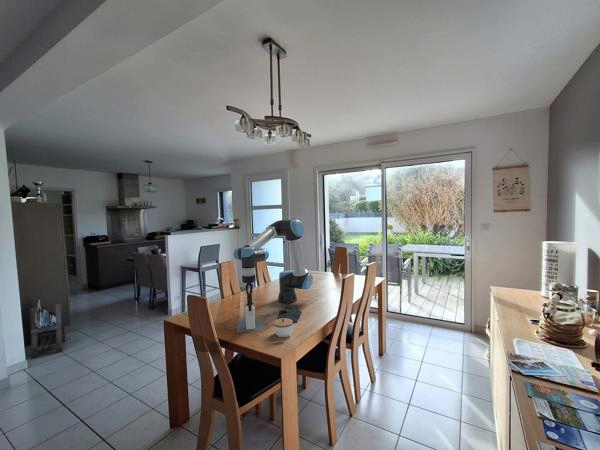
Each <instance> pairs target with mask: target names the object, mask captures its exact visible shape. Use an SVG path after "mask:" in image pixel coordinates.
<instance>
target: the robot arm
mask: <svg viewBox="0 0 600 450" xmlns="http://www.w3.org/2000/svg"><path fill="white" fill-rule="evenodd" d="M304 233H305V227H304V224H303V222H302V221H301V220H299V219H281V220H276V221H274V222H273V223H271V224H269V225H268V226H267V227H266V228H265V230H264V231H262V232H261V233H260V234H259V235H257V236H256V237H254V238H253V239H251V240H250V241H249V242H248V243H246V244H245V245H244V246H241V247H237V248H235V249H234V250H233V258H234V259H235V260H237V261H241V269H240V272H241V275H242V276H241V282H242V283H243V284H245V292H246V293H245V294H246V298H247V299H246V301H247V304H245V305H246V306H248V317H251V316H253V308H252V306H253V305H254V302H253V291H254V290H253V289H254V287H253V286H254V284H253V283H255V282H257V281H256V280H257V277H256V273H257V272H256V263H259V262H264V261H266V260H268V259H269V256H270V252H269V250H268V249H267V248H265V247H264V246H265V245H266V244H267V243H268V242H270V241H271V240H273V239H276V238H277V237H285V240H286V241H287V242H288V245H289V250H290V255H291V261H292V265H293V267H292V268H293V269H287V270H282V271H280V272H279V275H278V280H279V281H278V282H279V292H278V296H277V302H278V303H281V304H292V303H296V302H298V296H297V293H296V290H295V289H298V290H303V291H304V290H307V291H308V290H309V289H311V286H312V284H313V280H314V279H313V275H312V274H311V273H309V270H308V269H307V268H306V264H305V258H304V253H303V251H304V250H303V247H302V242H301V239H302V238H303V235H304ZM263 247H264V248H263ZM246 306H245V307H246Z"/></svg>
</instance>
